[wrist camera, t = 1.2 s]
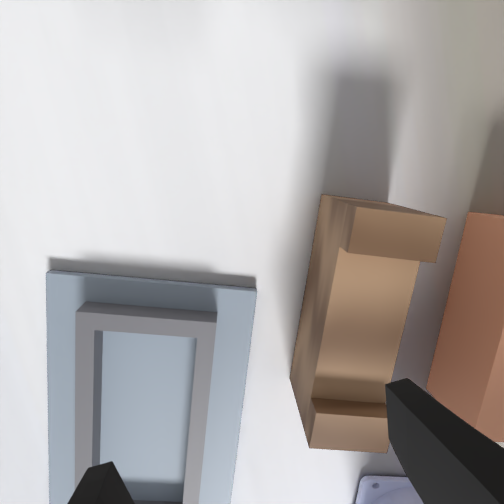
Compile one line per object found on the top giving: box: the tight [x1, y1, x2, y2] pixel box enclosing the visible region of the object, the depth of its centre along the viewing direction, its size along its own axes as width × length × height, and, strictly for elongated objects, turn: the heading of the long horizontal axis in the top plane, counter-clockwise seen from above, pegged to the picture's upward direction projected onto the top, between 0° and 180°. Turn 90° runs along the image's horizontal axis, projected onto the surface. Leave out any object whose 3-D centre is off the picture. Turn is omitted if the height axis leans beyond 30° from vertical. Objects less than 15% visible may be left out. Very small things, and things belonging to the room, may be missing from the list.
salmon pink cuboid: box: [426, 212, 504, 442], centre depth 21 cm, size 12×4×5 cm, turn 174°
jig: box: [46, 270, 257, 504], centre depth 23 cm, size 12×18×2 cm, turn 173°
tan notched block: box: [290, 194, 447, 453], centre depth 20 cm, size 12×4×6 cm, turn 172°
